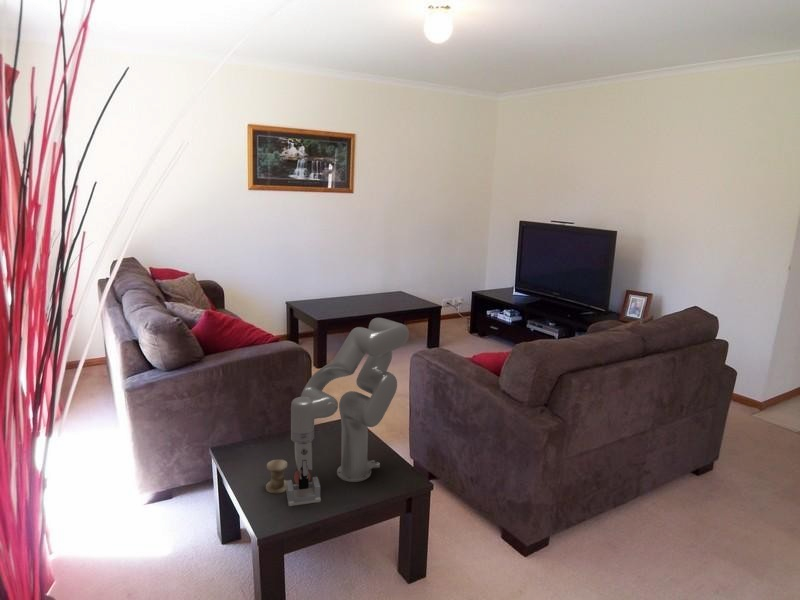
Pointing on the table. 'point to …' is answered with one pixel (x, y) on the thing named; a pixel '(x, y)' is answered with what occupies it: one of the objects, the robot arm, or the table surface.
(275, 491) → the bobbin
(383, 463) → the table surface
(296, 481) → the bead
